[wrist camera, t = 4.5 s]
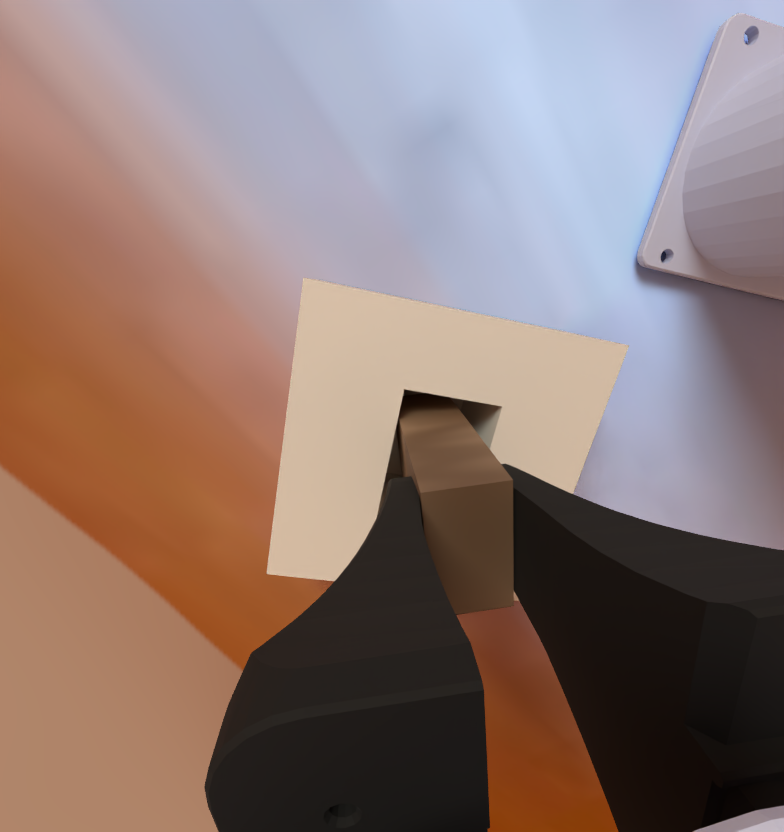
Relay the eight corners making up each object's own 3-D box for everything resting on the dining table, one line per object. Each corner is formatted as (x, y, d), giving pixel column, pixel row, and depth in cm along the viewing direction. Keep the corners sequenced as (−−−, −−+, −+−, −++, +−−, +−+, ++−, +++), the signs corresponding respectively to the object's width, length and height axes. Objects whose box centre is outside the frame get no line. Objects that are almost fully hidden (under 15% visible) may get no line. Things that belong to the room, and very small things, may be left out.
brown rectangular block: (444, 390, 15) (513, 479, 8) (450, 471, 16) (513, 606, 10) (392, 397, 15) (420, 492, 8) (402, 478, 16) (432, 618, 9)
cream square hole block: (559, 329, 16) (629, 345, 12) (493, 532, 19) (531, 602, 15) (319, 280, 15) (303, 278, 11) (288, 505, 18) (266, 573, 14)
